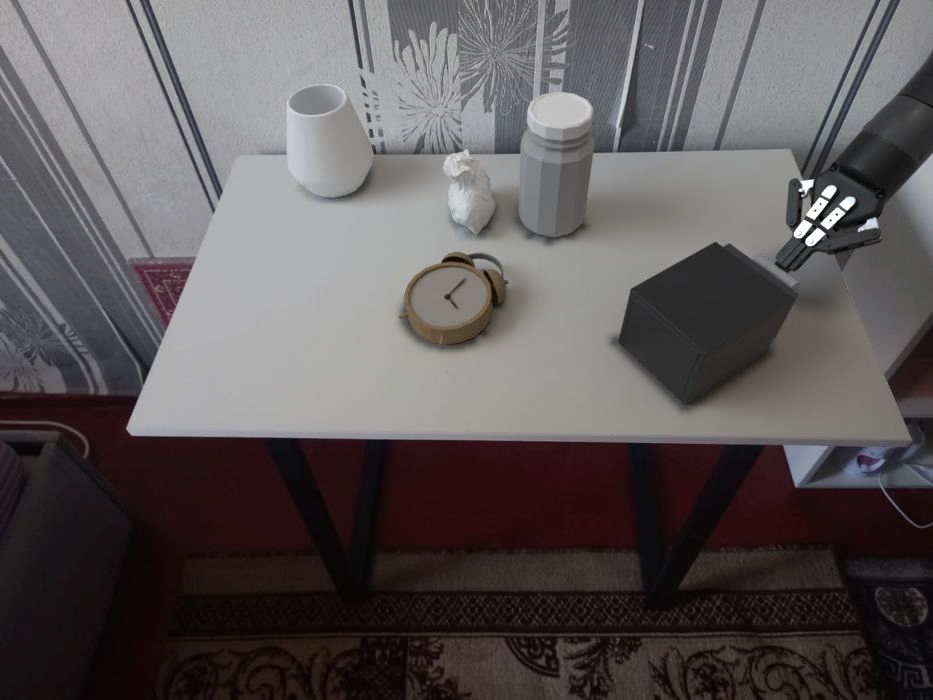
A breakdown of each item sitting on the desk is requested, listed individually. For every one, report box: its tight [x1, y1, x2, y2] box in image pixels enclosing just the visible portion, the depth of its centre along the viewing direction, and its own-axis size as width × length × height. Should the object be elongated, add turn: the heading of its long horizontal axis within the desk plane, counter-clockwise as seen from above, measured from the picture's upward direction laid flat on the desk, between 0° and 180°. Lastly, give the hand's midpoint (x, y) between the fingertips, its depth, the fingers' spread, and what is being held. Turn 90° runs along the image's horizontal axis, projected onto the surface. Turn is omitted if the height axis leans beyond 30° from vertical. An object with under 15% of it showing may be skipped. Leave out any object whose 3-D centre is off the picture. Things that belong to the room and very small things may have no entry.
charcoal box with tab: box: [618, 241, 794, 406], centre depth 77 cm, size 14×12×10 cm
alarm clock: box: [398, 251, 509, 346], centre depth 85 cm, size 11×5×15 cm
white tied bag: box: [441, 148, 496, 235], centre depth 94 cm, size 12×8×11 cm
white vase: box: [286, 83, 375, 199], centre depth 99 cm, size 13×13×14 cm
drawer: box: [722, 242, 801, 340], centre depth 79 cm, size 17×10×8 cm, turn 123°
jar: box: [517, 91, 596, 239], centre depth 90 cm, size 10×10×18 cm
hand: (780, 268), depth 80 cm, fingers closed
